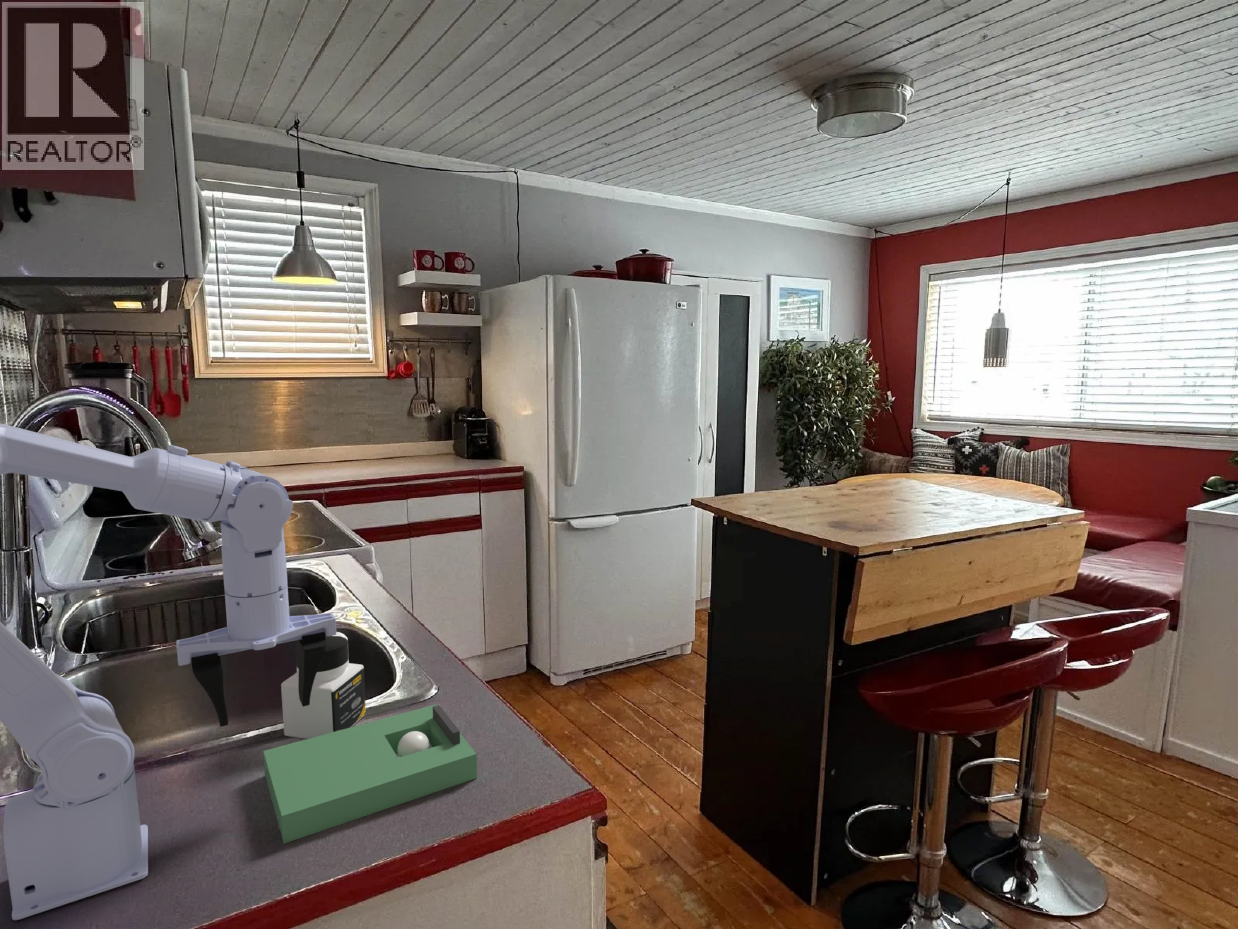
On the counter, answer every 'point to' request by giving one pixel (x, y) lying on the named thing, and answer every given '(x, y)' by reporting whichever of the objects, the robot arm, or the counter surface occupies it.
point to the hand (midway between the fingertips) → (265, 711)
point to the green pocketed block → (363, 771)
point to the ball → (412, 743)
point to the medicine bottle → (326, 695)
